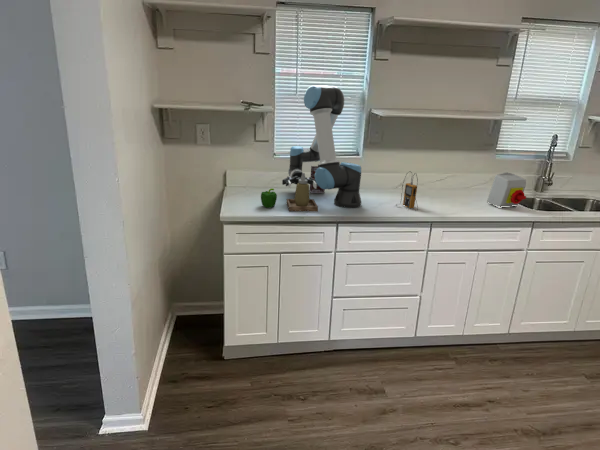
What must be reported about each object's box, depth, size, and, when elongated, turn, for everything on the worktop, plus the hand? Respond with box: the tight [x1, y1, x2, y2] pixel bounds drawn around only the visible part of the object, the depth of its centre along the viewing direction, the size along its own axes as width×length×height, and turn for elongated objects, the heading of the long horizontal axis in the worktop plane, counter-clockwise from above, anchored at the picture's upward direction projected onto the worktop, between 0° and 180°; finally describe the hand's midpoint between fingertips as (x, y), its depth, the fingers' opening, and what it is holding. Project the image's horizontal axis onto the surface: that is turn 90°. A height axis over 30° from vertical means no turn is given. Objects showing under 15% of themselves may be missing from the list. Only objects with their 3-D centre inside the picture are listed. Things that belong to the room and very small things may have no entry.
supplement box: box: [309, 165, 326, 194], centre depth 255 cm, size 9×5×16 cm, turn 104°
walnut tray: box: [285, 198, 319, 213], centre depth 225 cm, size 15×15×2 cm
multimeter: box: [400, 170, 419, 211], centre depth 232 cm, size 15×10×20 cm
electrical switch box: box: [486, 171, 527, 207], centre depth 243 cm, size 15×15×20 cm
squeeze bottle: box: [294, 172, 310, 206], centre depth 222 cm, size 8×8×18 cm
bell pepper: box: [260, 187, 278, 209], centre depth 221 cm, size 8×8×10 cm
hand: (303, 186), depth 220 cm, fingers open, 13 cm apart
